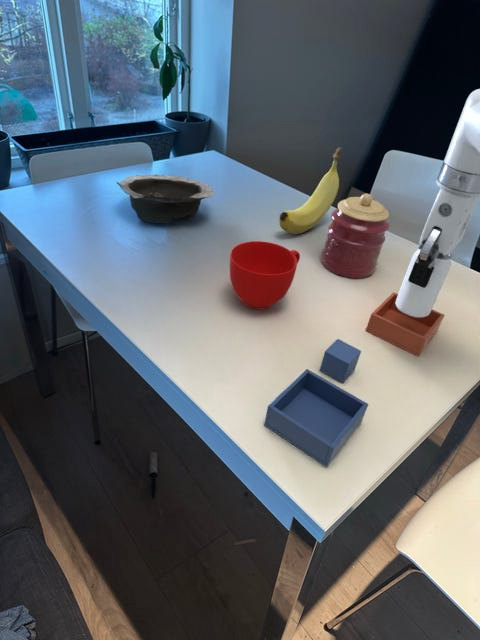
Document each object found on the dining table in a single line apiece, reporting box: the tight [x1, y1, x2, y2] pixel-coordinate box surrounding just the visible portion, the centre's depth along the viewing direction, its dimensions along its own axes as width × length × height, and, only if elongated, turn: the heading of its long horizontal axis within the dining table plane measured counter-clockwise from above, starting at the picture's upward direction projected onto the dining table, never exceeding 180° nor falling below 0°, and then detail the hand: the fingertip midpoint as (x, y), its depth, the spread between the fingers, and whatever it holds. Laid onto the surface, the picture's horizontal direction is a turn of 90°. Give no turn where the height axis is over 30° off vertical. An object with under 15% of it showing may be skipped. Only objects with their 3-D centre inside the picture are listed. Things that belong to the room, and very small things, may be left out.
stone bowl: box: [116, 174, 215, 224], centre depth 118 cm, size 25×25×9 cm
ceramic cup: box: [229, 240, 301, 310], centre depth 89 cm, size 13×17×10 cm
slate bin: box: [263, 368, 370, 468], centre depth 65 cm, size 11×11×4 cm
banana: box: [278, 146, 343, 235], centre depth 115 cm, size 23×6×20 cm, turn 138°
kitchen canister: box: [321, 193, 391, 279], centre depth 102 cm, size 13×13×18 cm
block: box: [319, 338, 362, 384], centre depth 75 cm, size 4×4×4 cm
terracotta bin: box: [365, 291, 446, 357], centre depth 87 cm, size 11×11×4 cm
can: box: [395, 245, 453, 318], centre depth 81 cm, size 6×6×12 cm
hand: (424, 275), depth 80 cm, fingers closed on can, 6 cm apart
